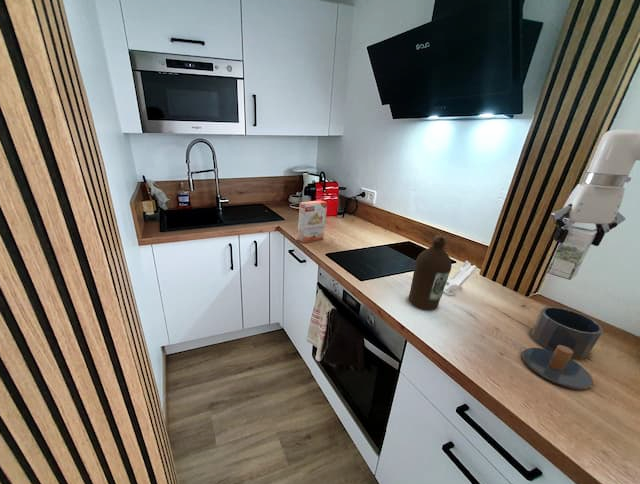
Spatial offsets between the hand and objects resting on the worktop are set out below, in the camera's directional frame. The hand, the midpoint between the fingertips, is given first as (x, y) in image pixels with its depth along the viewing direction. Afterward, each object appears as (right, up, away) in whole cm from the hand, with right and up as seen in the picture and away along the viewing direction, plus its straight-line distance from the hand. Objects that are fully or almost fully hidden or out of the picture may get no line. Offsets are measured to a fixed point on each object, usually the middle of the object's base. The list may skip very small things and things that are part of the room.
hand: (575, 242), depth 82 cm
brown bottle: (-35, -21, +19) cm, 45 cm away
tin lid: (-14, -32, -9) cm, 37 cm away
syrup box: (0, -10, +4) cm, 11 cm away
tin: (-4, -29, +1) cm, 30 cm away
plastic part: (-19, -17, +28) cm, 38 cm away
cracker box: (-68, +4, +75) cm, 101 cm away
